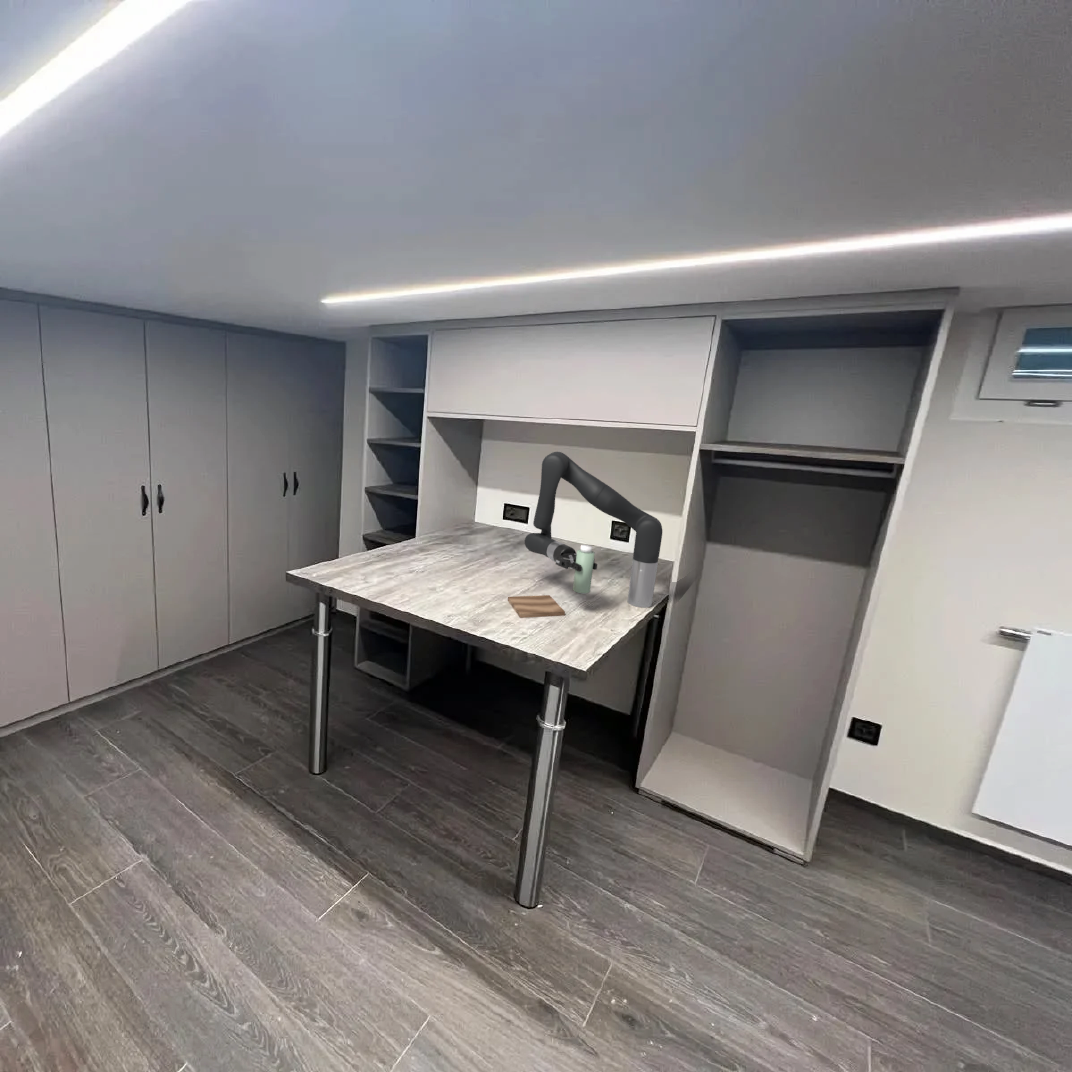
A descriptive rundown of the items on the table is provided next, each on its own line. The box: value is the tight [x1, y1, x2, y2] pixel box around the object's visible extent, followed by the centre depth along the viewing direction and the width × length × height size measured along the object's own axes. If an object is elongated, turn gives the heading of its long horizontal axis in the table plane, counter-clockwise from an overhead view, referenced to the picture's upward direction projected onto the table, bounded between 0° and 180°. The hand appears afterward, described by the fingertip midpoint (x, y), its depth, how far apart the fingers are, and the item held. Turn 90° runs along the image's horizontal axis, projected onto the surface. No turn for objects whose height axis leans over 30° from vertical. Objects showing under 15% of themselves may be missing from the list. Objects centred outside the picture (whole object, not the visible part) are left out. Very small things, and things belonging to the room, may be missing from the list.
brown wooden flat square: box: [507, 594, 566, 619], centre depth 177 cm, size 16×16×2 cm
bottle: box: [572, 544, 595, 594], centre depth 173 cm, size 6×6×16 cm
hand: (588, 567), depth 170 cm, fingers closed on bottle, 6 cm apart
